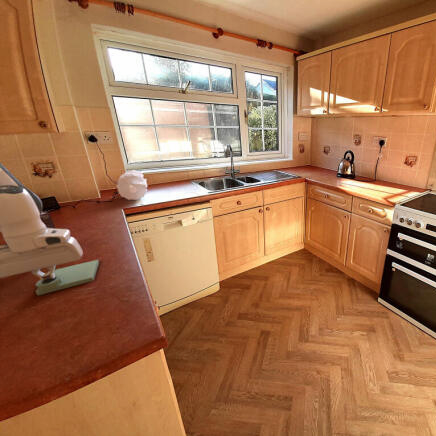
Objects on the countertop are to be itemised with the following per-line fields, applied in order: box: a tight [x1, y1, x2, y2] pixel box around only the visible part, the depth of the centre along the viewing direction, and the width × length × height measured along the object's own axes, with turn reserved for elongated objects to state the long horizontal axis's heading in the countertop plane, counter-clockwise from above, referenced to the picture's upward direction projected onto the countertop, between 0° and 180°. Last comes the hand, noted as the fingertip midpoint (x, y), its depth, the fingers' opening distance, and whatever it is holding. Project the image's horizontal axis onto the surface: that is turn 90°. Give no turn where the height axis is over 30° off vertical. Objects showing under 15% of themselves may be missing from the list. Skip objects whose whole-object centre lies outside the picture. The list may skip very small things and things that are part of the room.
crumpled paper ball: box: [115, 169, 148, 201], centre depth 171 cm, size 18×18×25 cm
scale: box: [35, 259, 100, 296], centre depth 83 cm, size 14×14×3 cm
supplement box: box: [40, 210, 57, 229], centre depth 101 cm, size 9×5×16 cm, turn 65°
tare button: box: [42, 278, 55, 284], centre depth 77 cm, size 3×3×2 cm
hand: (48, 278), depth 77 cm, fingers closed, pressing on tare button
